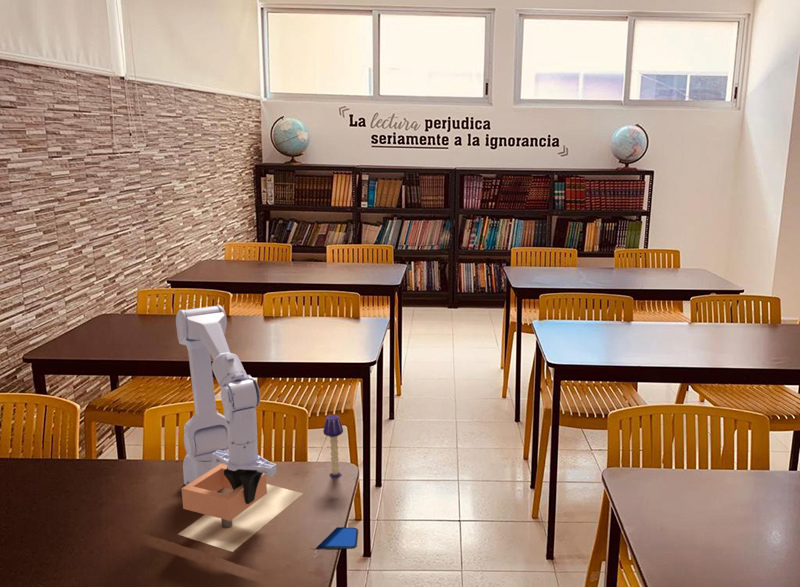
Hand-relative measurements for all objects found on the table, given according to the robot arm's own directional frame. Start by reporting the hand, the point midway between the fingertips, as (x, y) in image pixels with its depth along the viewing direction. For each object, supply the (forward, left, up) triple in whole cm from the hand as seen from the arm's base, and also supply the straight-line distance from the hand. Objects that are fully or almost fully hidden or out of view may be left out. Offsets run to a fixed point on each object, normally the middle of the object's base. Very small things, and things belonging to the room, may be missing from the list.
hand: (245, 500), depth 139 cm
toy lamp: (+4, +29, -9) cm, 30 cm away
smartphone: (+14, +7, -9) cm, 18 cm away
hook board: (-5, +6, -9) cm, 11 cm away
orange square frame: (-5, 0, -1) cm, 5 cm away
